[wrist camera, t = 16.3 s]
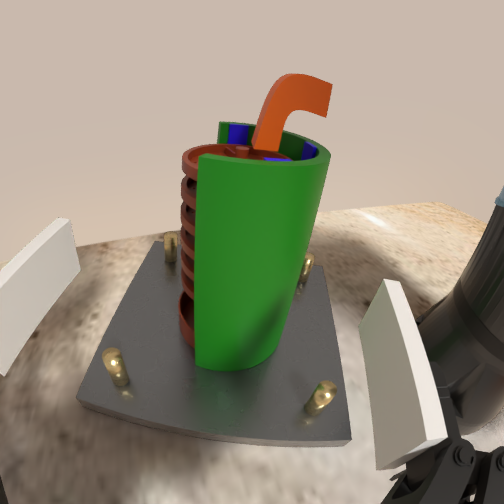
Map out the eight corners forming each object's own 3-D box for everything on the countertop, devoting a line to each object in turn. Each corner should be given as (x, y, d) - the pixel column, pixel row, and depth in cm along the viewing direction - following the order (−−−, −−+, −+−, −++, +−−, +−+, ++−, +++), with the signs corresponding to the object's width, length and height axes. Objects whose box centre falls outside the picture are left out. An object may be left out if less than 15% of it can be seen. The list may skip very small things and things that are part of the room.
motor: (175, 286, 28) (185, 62, 17) (262, 281, 30) (304, 77, 19) (186, 376, 20) (197, 55, 9) (297, 361, 23) (390, 96, 11)
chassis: (318, 276, 35) (329, 245, 32) (343, 446, 18) (370, 424, 15) (155, 251, 34) (154, 218, 32) (82, 406, 17) (61, 376, 14)
